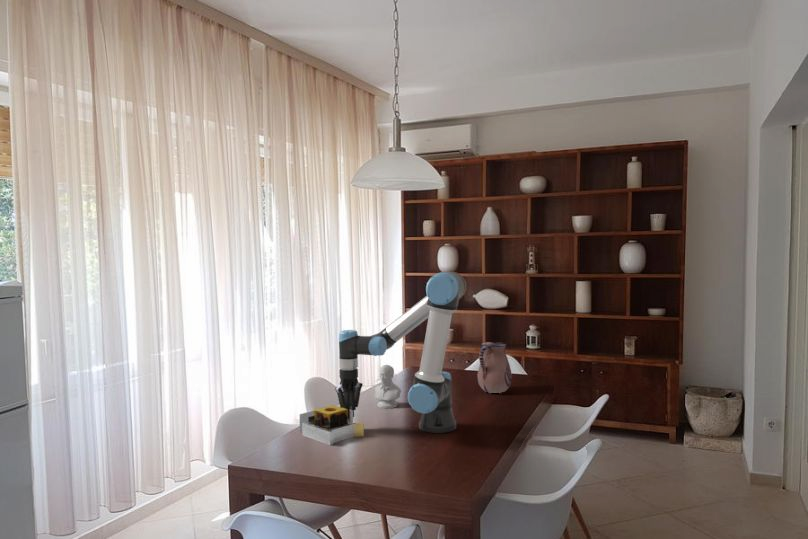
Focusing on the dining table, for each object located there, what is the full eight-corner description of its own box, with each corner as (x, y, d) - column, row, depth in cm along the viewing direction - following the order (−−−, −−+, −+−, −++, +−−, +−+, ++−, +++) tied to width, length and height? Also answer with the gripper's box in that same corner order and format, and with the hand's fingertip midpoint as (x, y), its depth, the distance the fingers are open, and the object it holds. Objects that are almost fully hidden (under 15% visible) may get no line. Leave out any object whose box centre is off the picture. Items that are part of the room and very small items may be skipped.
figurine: (395, 409, 257) (394, 367, 256) (370, 407, 262) (370, 365, 261) (403, 404, 265) (403, 364, 265) (379, 402, 270) (379, 362, 270)
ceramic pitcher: (517, 390, 289) (516, 342, 289) (501, 399, 272) (500, 348, 271) (486, 386, 299) (485, 340, 298) (468, 395, 281) (468, 345, 281)
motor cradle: (365, 435, 220) (364, 418, 219) (332, 446, 208) (332, 427, 208) (327, 423, 237) (326, 407, 236) (295, 432, 225) (294, 415, 225)
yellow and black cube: (329, 440, 215) (328, 414, 215) (313, 435, 222) (312, 410, 221) (349, 433, 222) (348, 408, 222) (332, 428, 229) (332, 404, 229)
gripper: (355, 364, 234) (355, 420, 235) (330, 369, 225) (331, 427, 226) (366, 367, 229) (367, 424, 230) (342, 372, 220) (343, 431, 221)
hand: (349, 425), depth 228 cm, fingers closed
